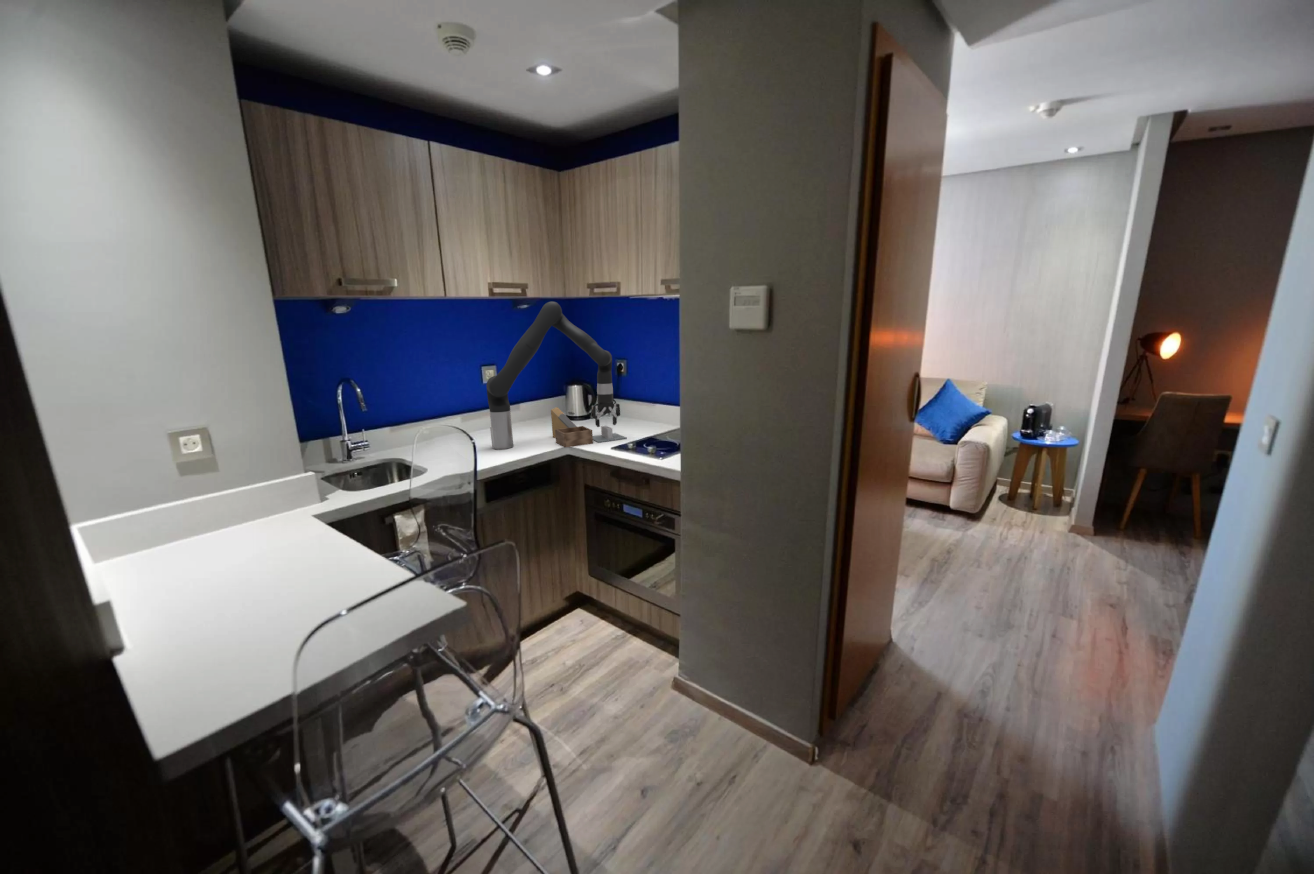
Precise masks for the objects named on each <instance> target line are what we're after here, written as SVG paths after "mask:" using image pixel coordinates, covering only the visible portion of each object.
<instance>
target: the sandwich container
mask: <svg viewBox="0 0 1314 874" xmlns="http://www.w3.org/2000/svg"><path fill="white" fill-rule="evenodd" d="M550 416H551V419H550V420H551V431H552V433H551V434H552V438H554V439H556V435H555V429H563V428H571V427H578V426H577V425H576V424H575V423H574V422H573V421H572V420H571V419H570V418H569V417H568V416H567V415H566V414H565V413H564V412H563V411H562V410H561V409H560V408H559V407H558V406H556V407H553V408H552V409H550Z"/></svg>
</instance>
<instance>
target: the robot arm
mask: <svg viewBox="0 0 1314 874" xmlns="http://www.w3.org/2000/svg"><path fill="white" fill-rule="evenodd" d="M551 327H553V328H555V329H557V331H560V332H561V333H562V334H564V335H565V336H566V337H567V338H568V339H570V340H571V341H572V342H573V343H574V344H575V345H576V346H578V347H579V348H580V349H581V350H582V351H583V352H585V353H586V354H587V355H588V356H589V357H590V358H591V359H592V360H593V361H594V362H595V363H596V364H597V366H598V367H597V374H596V381H597V384H596V385H597V386H596V392H597V393H596V394H597V395H596V396H597V405H591V406H590V407H591V410H590V411H591V415H590V417H591V418H592V419H595V420H594V422H595V426H596V427H597V428H599V427H600V428H601V426H600V425H601V424H600V418H601V417H602V415H606V414H609V415H611V416H612V425H613V426H616V425H617V423H618V420H617V418H618V417H620V416H621V406H620V403H616V402H615V403H614V388H613V375H612V369H613V355H612V354H611V352H610V351H608V350H605V349H603V347H601V346H600V345H599V344H598V342H597V341H596V340H595V339H594V338H592V336H590V335H589V334H588V333H586V331H584V330H582V329H581V328H580V327H577V326H576V325H574V324H573V323H572V322H571V321H569V319H568V318H567V317H566V316H565V315H564V314H563V309H562V307H561V305H560V304H559V303H558V302H556V301H548V302H546V303H545V304H543V306H542V308H541V309H540V311H539V312H538V314H537V316H536V318H535V319H534V321H533V323H531V325H530V326H529V327H528V328H527V330H526V331H525V332H524V333H523V335H522V336H521V337H520V338H519V340H518V341H517V343H516V344H515V345H514V347H513V348H512V350H511V352H510V354H509V356H508V358H507V360H506V363H505V364H504V366H503V367H502V369H501V370H500V371H499V372H498V373H497V374H496V375H493V376H491V377H489V378H488V380H486V381H487V382H486V396H487V403H488V407H489V419H490V427H489V428H490V438H491V439H490V440H491V447H492V449H493V450H505V449H510V448H513V447H514V436H513V427H512V425H513V424H512V414H511V404H510V402H509V391H510V389H511V388H512V386H513V384H514V383H515V381H516V379H518V376H519V375H520V374H521V373H522V371H523V370H524V369H525V368H526V367H527V366H528V364H529V363H530V361H531V360H532V359H533V358H534V356H535V354H536V353H537V352H538V350H539V348H540V346H541V345H542V342H543V340H544V338H545V337H546V334H547V333H548V331H549V330H550V328H551ZM614 408H615V411H614V410H613V409H614ZM597 410H598V411H597Z"/></svg>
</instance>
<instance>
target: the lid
mask: <svg viewBox="0 0 1314 874" xmlns="http://www.w3.org/2000/svg"><path fill="white" fill-rule="evenodd" d="M600 429H601V431H600V432H601V434H599V435H593V442H595V443H597V444H601V443H602V444H603V443H608V442H614V441H615V442H616V441H621V440H627V437H626V436H625V435H622V434H619V433H616V432H613V428H612V427H610V426H608V425H601V426H600Z"/></svg>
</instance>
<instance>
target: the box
mask: <svg viewBox="0 0 1314 874" xmlns="http://www.w3.org/2000/svg"><path fill="white" fill-rule="evenodd" d="M555 435H556V438H555V444H558V445H559V446H561V447H563V448H570V447H578V446H586V445H592V444H594V441H593V436H594V435H593V430H592V429H590V428H588V427H586V426H584V425H578V426H577V427H571V428H563V429H555Z"/></svg>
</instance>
